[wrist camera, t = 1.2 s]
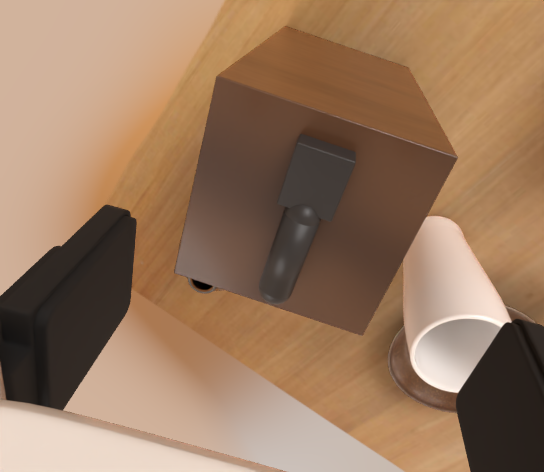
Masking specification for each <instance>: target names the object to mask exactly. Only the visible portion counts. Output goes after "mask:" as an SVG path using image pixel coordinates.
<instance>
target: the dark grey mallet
mask: <svg viewBox="0 0 544 472" xmlns="http://www.w3.org/2000/svg"><path fill="white" fill-rule="evenodd" d="M355 164H356V152H354V151H351V150H348V149H345V148H342V147H339V146H336V145H333V144H330V143H327V142H324V141H321V140H318V139H315V138H313V137H310V136H307V135H304V134H300V135H299V137H298V140H297V143H296V146H295V149H294V152H293V155H292V158H291V161H290V164H289V167H288V170H287V173H286V176H285V179H284V182H283V185H282V188H281V191H280V194H279V197H278V200H277V204H279V205H282V206H285V209H284V212H283V215H282V218H281V221H280V224H279V227H278V230H277V233H276V236H275V238H274V241H273V244H272V247H271V250H270V253H269V256H268V259H267V262H266V265H265V268H264V270H263V273H262V276H261V279H260V282H259V292H260V295H261V296H262V298H263V299H264V300H265V301H266V302H268V303H270V304H281V303H284V302H285V301H287V300H288V299H289V298H290V296H291V294H292V292H293V289H294V287H295V284H296V282H297V279H298V277H299V274H300V272H301V269H302V267H303V264H304V262H305V259H306V257H307V254H308V252H309V249H310V247H311V244H312V242H313V239H314V237H315V234H316V232H317V229H318V227H319V224H320V221H321V219H323V220H326V221H329V222H331V221H332V220H333V217H334V215H335V212H336V210H337V208H338V205H339V203H340V200H341V198H342V195H343V193H344V191H345V188H346V186H347V183H348V181H349V178H350V176H351V174H352V171H353V169H354V166H355Z"/></svg>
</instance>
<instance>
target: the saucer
mask: <svg viewBox="0 0 544 472" xmlns="http://www.w3.org/2000/svg"><path fill="white" fill-rule="evenodd" d="M505 307H506V309H507V311H508V314H509V316H510V318H511V321H513V320H515V319H521V320H525V321H529V322H532V323H536V322H534V321H533V320H532V319H531V318H529V317H528V316H526V315H525V314H523V313H521V312H520V311H518V310H516V309H513V308H511V307H508V306H505ZM536 324H537V323H536ZM388 367H389V371H390V374H391V376H392V378H393V380H394V381H395V383H396V384H397V386H398V387H399V388H400V389H401V390H402V391H403V392H404V393H405V394H406V395H407V396H409V397H410V398H412V399H413V400H415V401H417V402H418V403H420V404H423V405H425V406H428V407H430V408H433V409H436V410H440V411H444V412H451V413H457V410H456V397H457V394H458V393H454V392H448V391H444V390H440V389H438V388H435V387H433V386H431V385H429V384H428V383H426V382H425V381H423V380H422V379H421V378H420V377H419V376H418V375H417V373H416V372H415V370H414V369H413V367H412V364H411V361H410V356H409V351H408V347H407V341H406V335H405V328H404V326H403V327H402V328H401V329H400V330H399V331H398V333H397V334H396V336H395V337H394V339H393V341H392V343H391V345H390V349H389V353H388Z"/></svg>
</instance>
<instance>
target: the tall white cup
mask: <svg viewBox="0 0 544 472" xmlns="http://www.w3.org/2000/svg"><path fill="white" fill-rule="evenodd" d="M403 316H404V328H405V335H406V341H407V347H408V351H409V356H410V361H411V364H412V367H413V369H414V370H415V372H416V373H417V375H418V376H419V377H420V378H421V379H422V380H423V381H425V382H426V383H428V384H429V385H431V386H433V387H435V388H438V389H440V390H444V391H448V392H454V393H458V392H459V391H460V389H461V388H462V386H463V385H464V383H465V382H466V380H467V379H468V377H469V376H470V374H471V373H472V371H473V370H474V368H475V367H476V365H477V364H478V362H479V361H480V359H481V358H482V356H483V355H484V353H485V352H486V350H487V349H488V347H489V346H490V344H491V343H492V341H493V340H494V338H495V336H496V335H497V333H498V332H499V330H500V329H501V327H502V326H503V325H504V324H505V323H506V322H510V323H511V322H512V321H511V318H510V316H509V314H508V311H507V309H506V307H505V305H504V303H503V301H502V299H501V297H500V295H499V294H498V292H497V290H496V289H495V287H494V285H493V284H492V282H491V280H490V279H489V277H488V276H487V274H486V272H485V271H484V269H483V268H482V266H481V264H480V263H479V261H478V260H477V258H476V256H475V255H474V253H473V251H472V250H471V248H470V246H469V245H468V243H467V241H466V239H465V237H464V235H463V232H462V230H461V229H460V227H459V226H458V225H457V224H456V223H455V222H453V221H452V220H450V219H448V218H445V217H441V216H427V217H426V218H425V220H424V222H423V224H422V226H421V228H420V229H419V231H418V233H417V235H416V237H415V239H414V241H413V243H412V244H411V246H410V248H409V250H408V252H407V254H406V256H405V257H404V259H403Z"/></svg>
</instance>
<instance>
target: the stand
mask: <svg viewBox="0 0 544 472" xmlns="http://www.w3.org/2000/svg"><path fill="white" fill-rule="evenodd" d="M300 134H304V135H307V136H310V137H313V138H315V139H318V140H321V141H324V142H327V143H330V144H333V145H336V146H339V147H342V148H345V149H348V150H351V151H354V152H356V164H355V166H354V169H353V171H352V174H351V176H350V178H349V181H348V183H347V186H346V188H345V191H344V193H343V195H342V198H341V200H340V203H339V205H338V208H337V210H336V212H335V215H334V217H333V220H332V221H331V222H329V221H326V220H323V219H321V221H320V224H319V227H318V229H317V232H316V234H315V237H314V239H313V242H312V244H311V247H310V249H309V252H308V254H307V257H306V259H305V262H304V264H303V267H302V269H301V272H300V274H299V277H298V279H297V282H296V284H295V287H294V289H293V292H292V294H291V296H290V298H289V299H288V300H287V301H285V302H284V303H281V304H270V303H268V302H266V301H265V300H264V299H263V298H262V296H261V295H260V292H259V282H260V279H261V276H262V273H263V270H264V268H265V265H266V262H267V259H268V256H269V253H270V250H271V247H272V244H273V241H274V238H275V236H276V233H277V230H278V227H279V224H280V221H281V218H282V215H283V212H284V209H285V206H282V205H279V204H277V200H278V197H279V194H280V191H281V188H282V185H283V182H284V179H285V176H286V173H287V170H288V167H289V164H290V161H291V158H292V155H293V152H294V149H295V146H296V143H297V140H298V137H299V135H300ZM457 159H458V156H457V155H456V153H455V151H454V149H453V147H452V146H451V144H450V142H449V140H448V138H447V136H446V135H445V133H444V131H443V129H442V127H441V126H440V124H439V122H438V120H437V118H436V116H435V115H434V113H433V111H432V109H431V107H430V106H429V104H428V102H427V100H426V98H425V97H424V95H423V93H422V91H421V89H420V87H419V86H418V84H417V82H416V80H415V78H414V77H413V75H412V73H411V71H410V69H409V68H408V67H405V66H402V65H399V64H396V63H393V62H390V61H387V60H384V59H381V58H378V57H375V56H372V55H369V54H366V53H363V52H360V51H358V50H355V49H352V48H349V47H346V46H343V45H340V44H337V43H334V42H331V41H328V40H325V39H322V38H319V37H316V36H313V35H310V34H307V33H304V32H301V31H298V30H296V29H293V28H290V27H287V26H285V27H283V28H282V29H281V30H279V31H278V32H276V33H275V34H274V35H272V36H271V37H270V38H268V39H267V40H266V41H264V42H263V43H261V44H260V45H259V46H257V47H256V48H255V49H253V50H252V51H250V52H249V53H248V54H246V55H245V56H244V57H242V58H241V59H240V60H238V61H237V62H235V63H234V64H233V65H231V66H230V67H229V68H227V69H226V70H224V71H223V72H222V73H220V74H219V75H218V76H217V77H216V81H215V86H214V91H213V95H212V100H211V104H210V109H209V114H208V118H207V123H206V127H205V132H204V137H203V141H202V146H201V150H200V155H199V160H198V164H197V169H196V174H195V178H194V183H193V187H192V192H191V197H190V201H189V206H188V210H187V215H186V220H185V224H184V229H183V233H182V238H181V243H180V247H179V252H178V256H177V261H176V266H175V270H174V273H176V274H179V275H182V276H185V277H188V278H191V279H194V280H197V281H200V282H203V283H206V284H209V285H212V286H215V287H218V288H221V289H224V290H227V291H230V292H233V293H236V294H239V295H242V296H245V297H248V298H251V299H254V300H257V301H260V302H263V303H266V304H269V305H272V306H275V307H278V308H280V309H283V310H286V311H289V312H292V313H295V314H298V315H301V316H304V317H307V318H310V319H313V320H316V321H319V322H322V323H325V324H328V325H331V326H334V327H337V328H340V329H343V330H346V331H349V332H352V333H355V334H358V335H361V336H362V335H363V334H364V332H365V330H366V328H367V327H368V325H369V323H370V321H371V319H372V317H373V315H374V313H375V312H376V310H377V308H378V306H379V304H380V302H381V300H382V299H383V297H384V295H385V293H386V291H387V289H388V287H389V285H390V284H391V282H392V280H393V278H394V276H395V274H396V272H397V271H398V269H399V267H400V265H401V263H402V261H403V259H404V257H405V256H406V254H407V252H408V250H409V248H410V246H411V244H412V243H413V241H414V239H415V237H416V235H417V233H418V231H419V229H420V228H421V226H422V224H423V222H424V220H425V218H426V216H427V215H428V213H429V211H430V209H431V207H432V205H433V203H434V201H435V200H436V198H437V196H438V194H439V192H440V190H441V188H442V187H443V185H444V183H445V181H446V179H447V177H448V175H449V173H450V172H451V170H452V168H453V166H454V164H455V162H456V160H457Z"/></svg>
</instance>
